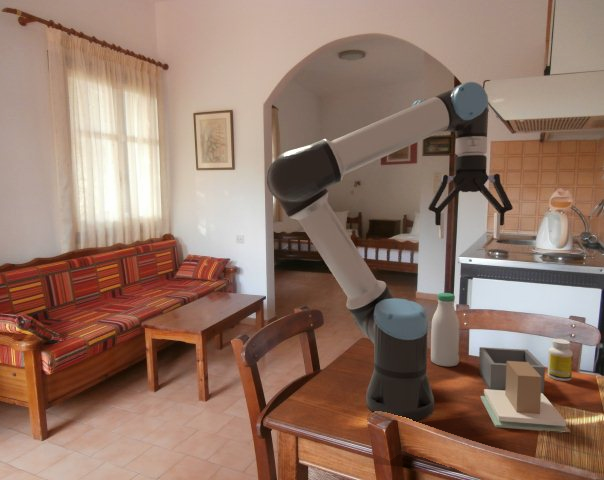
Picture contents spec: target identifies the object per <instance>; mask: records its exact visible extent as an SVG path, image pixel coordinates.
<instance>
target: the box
mask: <svg viewBox="0 0 604 480" xmlns="http://www.w3.org/2000/svg"><path fill="white" fill-rule="evenodd" d="M478 349H479V352H478V354H479V355H478V357H479V358H478V374H479V375H480V376H481V377H480V378H481V379H482V380H483V382H484V384H485V386H486V387H487V389H490V390H505V391H506V364H507V361H517V362H528V363H529V364H530V365H531V366H532V367H533V368H534V369H535V370H536V371H537V372H538V373H539V375H540V376H541V377H542V379H541V393H543V395H544V396H545V379H546V378H545V376H546V375H545V372H546V366H544V365H543V364H542V362H540V360H538V359H537V357H535V356H534V355H533V354H532V353H531V351H530V350H528V349H524V348H523V349H519V348H502V347H501V348H500V347H482V346H480V347H479V348H478Z"/></svg>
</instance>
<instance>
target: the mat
mask: <svg viewBox="0 0 604 480" xmlns="http://www.w3.org/2000/svg"><path fill="white" fill-rule="evenodd" d="M480 401H482V404H483V405H484V407H485V409H486V411H487V414H488V416H489V417H490V418H491V421H492V424H493V425H494V427H495V428H503V429H514V430H527V431H528V430H529V431H539V432H543V431H542V430H551V431H570V432H571V429H569V428H568V429H566V426H567V425H566V426H557V425H545V424H532V423H520V422H507V421H499V420H498V418H497V416H496V415H495V413H494V411H493V409H492V407H491V405H490V404H489V402H488V400H487V398H486V396H485V395H480Z"/></svg>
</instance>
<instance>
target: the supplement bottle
mask: <svg viewBox="0 0 604 480" xmlns="http://www.w3.org/2000/svg"><path fill="white" fill-rule="evenodd" d="M551 345H552V346H551V347H550V348H549V349H548V358H547V359H548V361H547V376H548V377H549V378H551V379H553V380H556V381H562V382H568V381H571V380H572V375H573V374H572V373H573V359H574V358H573V357H574V356H573V350H571V349H570V348H571V342H570V341H569V340H567V339H563V338H553V339H552V341H551Z"/></svg>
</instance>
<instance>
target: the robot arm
mask: <svg viewBox="0 0 604 480" xmlns="http://www.w3.org/2000/svg"><path fill="white" fill-rule="evenodd" d="M489 112H490V109H489V97H488V94H487V92H486V90H485V88H484V87H483V86H482V85H481V84H480V83H478V82H474V81H466V82H464V83H461V84H459V85H457V86H455V87H454V88H452V89H450V90H448V91H445V92H442V93H440V94H438V95H436V96H434V97H431V98H429V99H427V98H426V99H420V100H418V99H417V100H416V101H414V102H413V103H412V104H411V106H410V107H408V108H405V109H403V110H400V111H398V112H396V113H394V114H392V115H389V116H386V117H384V118H382V119H380V120H378V121H375V122H372V123H370V124H369V125H366V126H364V127H361V128H359V129H357V130H354V131H352V132H349V133H347V134H345V135H343V136H340V137H338V138H335V139H333V140H331V141H330V140H328V139H326V138H324V139H321V140H319V141H316V142H313V143H311V144H308V145H304V146H301V147H298V148H294V149H290V150H287V151H284V152H282V153H281V154H280V155H278V157H276V158H275V160H274V161H273V162H272V163H271V164H270V165H269V167H268V170H267V174H266V184H267V185H266V186H267V189H268V190H269V192H270V194H271V195H272V196H273V197H274V198H275V199H276V200H277V202H278V203H279V205H280V207H282V209H283V211H284V212H285V214H286V215H287V217H288V218H289V219H294V220H297V221H298V223H299V224H300V226H301V227H302V228H303V230H304V232H305V234H306V235H307V236H308V238H309V240H310V241H311V242H312V244H313V246H314V247H315V249H316V250H317V252H318V254H319V255H320V257H321V258H322V260H323V261H324V263H325V265H326V266H327V267H328V269H329V271H330V272H331V274H332V275H333V277H334V278H335V280H336V282H337V283H338V284H339V286H340V288H341V289H342V291H343V293H344V294H345V295H346V297H347V299H346V304H345V305H346V308H347V310H348V311H349V313H350V314H351V315H352V317H353V320H354V322H355V325H356V326H357V328H358V329H359V330H360V332H361V333H363V334H364V335H365V336H366V337H367V338H368V339H369V340H370V342H371V343H372V344H373V346H374V347H373V349H374V350H373V351H374V352H373V353H374V354H373V358H374V359H373V366H374V367H373V372H372V375H371V377H370V380H369V384H368V387H367V389H366V393H365V394H366V396H365V398H366V399H365V401H366V403H365V404H366V407H368V409H369V410H370V411H371V412H373V411H382V412H387V413H391V414H394V415H398V416H402V417H406V418H409V419H412V420H415V421H421V420H424V419H426V418H428V417H430V416H431V415H433V412H434V411H435V397H434V393H433V391H432V387H431V385H430V381H429V377H428V376H427V375H428V373H427V366H428V364H427V357H428V356H427V355H428V330H429V321H428V313H427V311H426V309H425V308H424V306H422V305H421V304H420V303H418V302H415V301H412V300H408V299H407V298H396V297H395V296H394V294H393V293H392V291H391V289H390V288H389V287H388V284H386V282H385V281H382V280H378V279H377V278H376V277H375V275H374V273H373V272H372V270H371V269H370V268H369V265H368V264H367V263H366V261H365V259H364V258H363V256H362V255H361V253H360V252H359V250H358V248H357V247H356V245H355V244H354V242H353V240H352V239H351V237H350V235H349V234H348V233H347V231H346V229H345V227H344V226H343V224H342V223H341V220H339V218H338V216H337V215H336V213H335V211H334V210H333V208H332V206H331V205H330V204H329V202H328V197H329V190H328V188H329V187H331V186H333V185H335V184H337V183H340V182H342V181H343V178H344V176H345V174H348V173H351V172H352V171H353V172H354V171H355V170H357V169H359V168H361V167H362V168H363V167H365V166H366V165H368V164H371V163H373V162H376V161H378V160H380V159H382V158H385V157H386V156H388V155H391V154H394V153H395V152H398V151H400V150H403V149H405V148H407V147H409V146H412V145H414V144H416V143H418V142H421V141H423V140H425V139H427V138H430V137H432V136H435V135H436V134H439V133H441V132H450V133H454V132H455V148H454V149H455V150H454V154H455V155H456V157H455V158H454V173H453V175H448V174H444V175H441V179H440V184H439V187H438V189H437V191H436V192H435V195H434V196H433V198H432V200H431V202H430V203H429V205H428V207H427V208H428V210H429V211H431V212H433V213H434V215H435V217H434V221H435V222H434V223H435V226H438V238H439V239H444V233H445V232H444V231H445V229H444V228H445V227H444V226H445V213H444V212H442V211H444V209H446V207H447V205H449V204H450V202H451V201H452V200H454V198H455V197H456V196H457V195H458V194H459V193H460V192H462V193H469V192H470V193H477V192H480V194H482V195H483V196H484V198H485V199H486V200H487V201H488V202H489V204H491V206H492V207H493V208H494V209H495V210H496V211H497V212H494V213H493V239H496V240H500V236H501V235H500V232H501V231H500V230H501V229H500V228H501V226H504V225H505V213H506V212H509V211H512V210H513V209H514V208H513V205H512V203H511V201H510V199H509V197H508V195H507V193H506V191H505V188H504V187H503V185H502V183H501V176H500V174H499V173H494V174H490V175H489V174H487V173H488V172H487V162H488V161H487V160H488V158H487V156H486V154H487V151H488V150H487V149H488V124H489V122H488V121H489ZM451 181H452V182H453V183H454V185H455V187H453V189H452V190H451V191H450V193H448V195H446V197H445V198H444V199H443V201H441V203H440V204H438V202H439V201H440V199H441V196H442V195H443V193H444V191H445V189H446V188H447V185H448V184H450V183H451ZM488 181H489V183H490V184H492V185H493V188H494V189H495V192H496V194H497V195H498V197H499V199H500V201H501V203H502V204H501V203H500V202H499V201H498V199H497V198H496V197H495V196H494V194H492V193H491V191H489V189H488V187H486V185H485V184H486V183H487V182H488ZM437 204H438V206H437ZM436 206H437V207H436Z"/></svg>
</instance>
